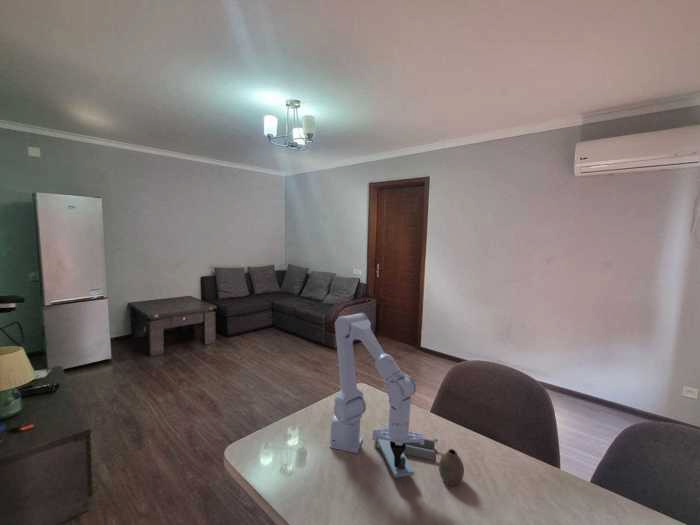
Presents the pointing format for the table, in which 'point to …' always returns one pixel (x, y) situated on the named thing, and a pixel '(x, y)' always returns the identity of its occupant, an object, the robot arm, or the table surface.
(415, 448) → the grey u-channel
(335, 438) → the robot arm
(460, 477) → the vase
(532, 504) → the table surface
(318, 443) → the table surface
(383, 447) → the cover
